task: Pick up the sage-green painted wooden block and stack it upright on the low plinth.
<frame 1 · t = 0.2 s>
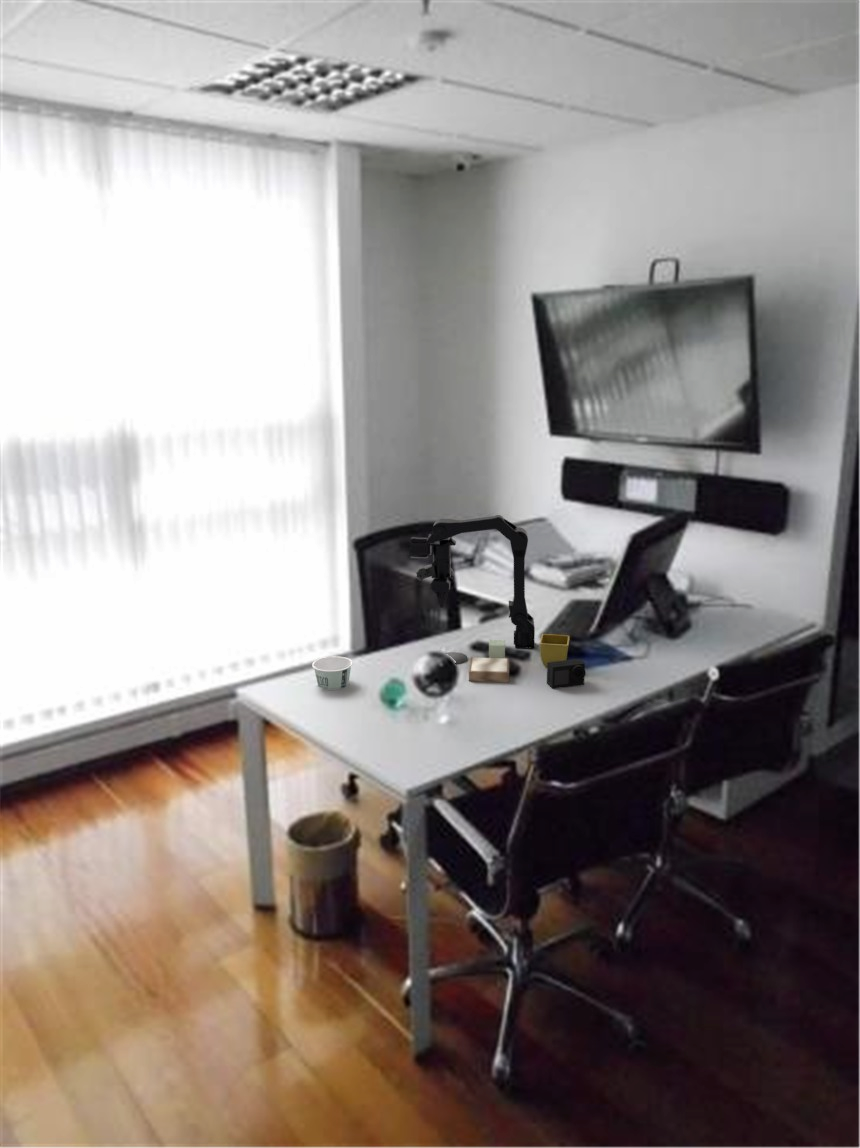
hand: (442, 603, 293), 14 cm above the table, fingers open, 9 cm apart
food container: (333, 684, 265), on the table
plinth: (489, 674, 270), on the table
coaster: (453, 658, 283), on the table
digital camera: (566, 685, 262), on the table
block: (496, 660, 282), on the table
flower pot: (554, 666, 276), on the table
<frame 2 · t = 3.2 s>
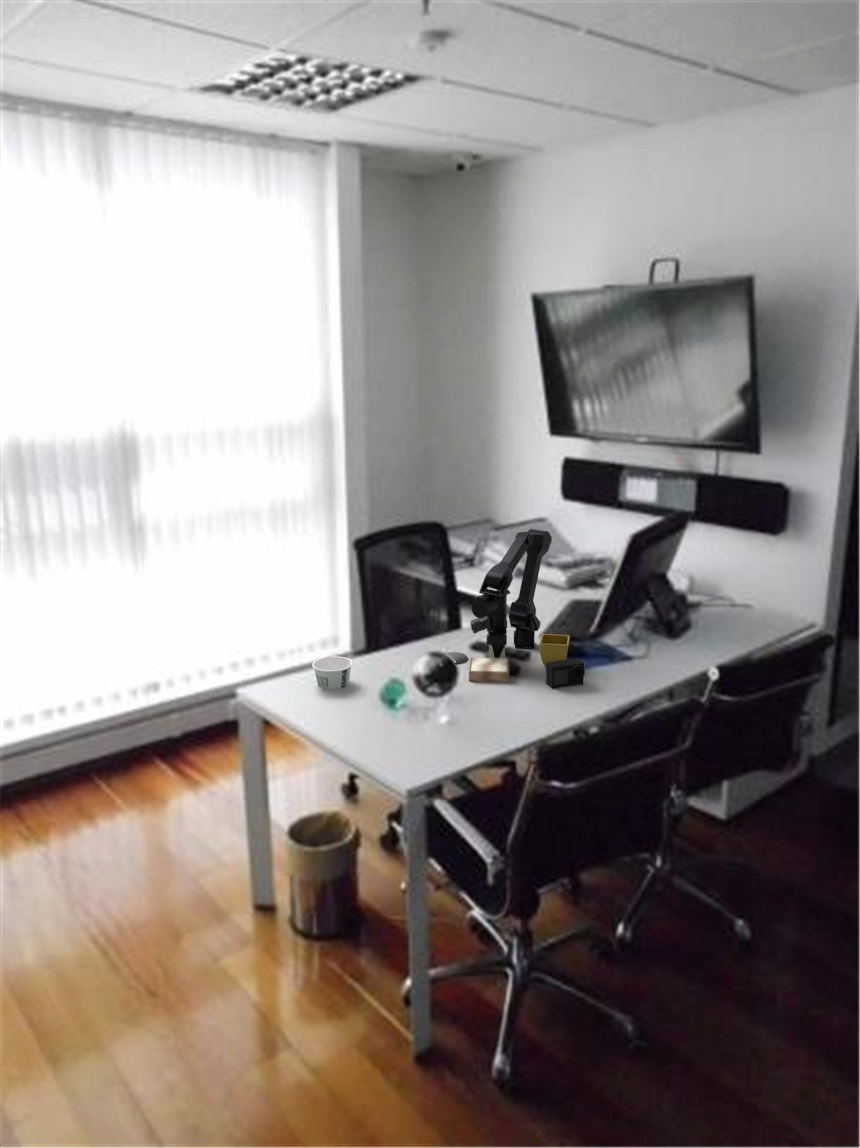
hand: (496, 656, 281), 1 cm above the table, fingers closed on block, 5 cm apart
block: (496, 660, 282), on the table, touching gripper
everything else where it was.
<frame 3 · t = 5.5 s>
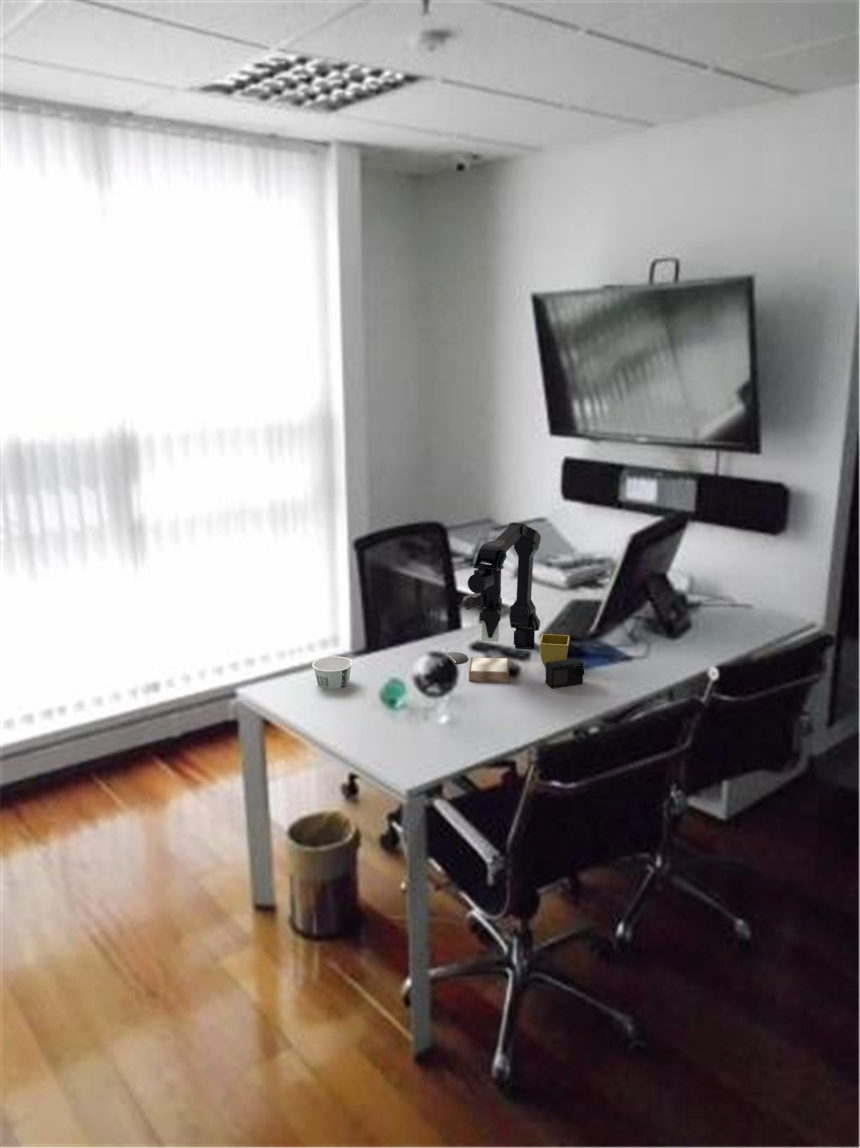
hand: (490, 634, 269), 12 cm above the table, fingers closed on block, 5 cm apart
block: (490, 638, 270), point 11 cm above the table, touching gripper
everything else where it was.
when the fingers open (5 cm above the table, at t = 7.6 s): block stays where it is, resting on plinth.
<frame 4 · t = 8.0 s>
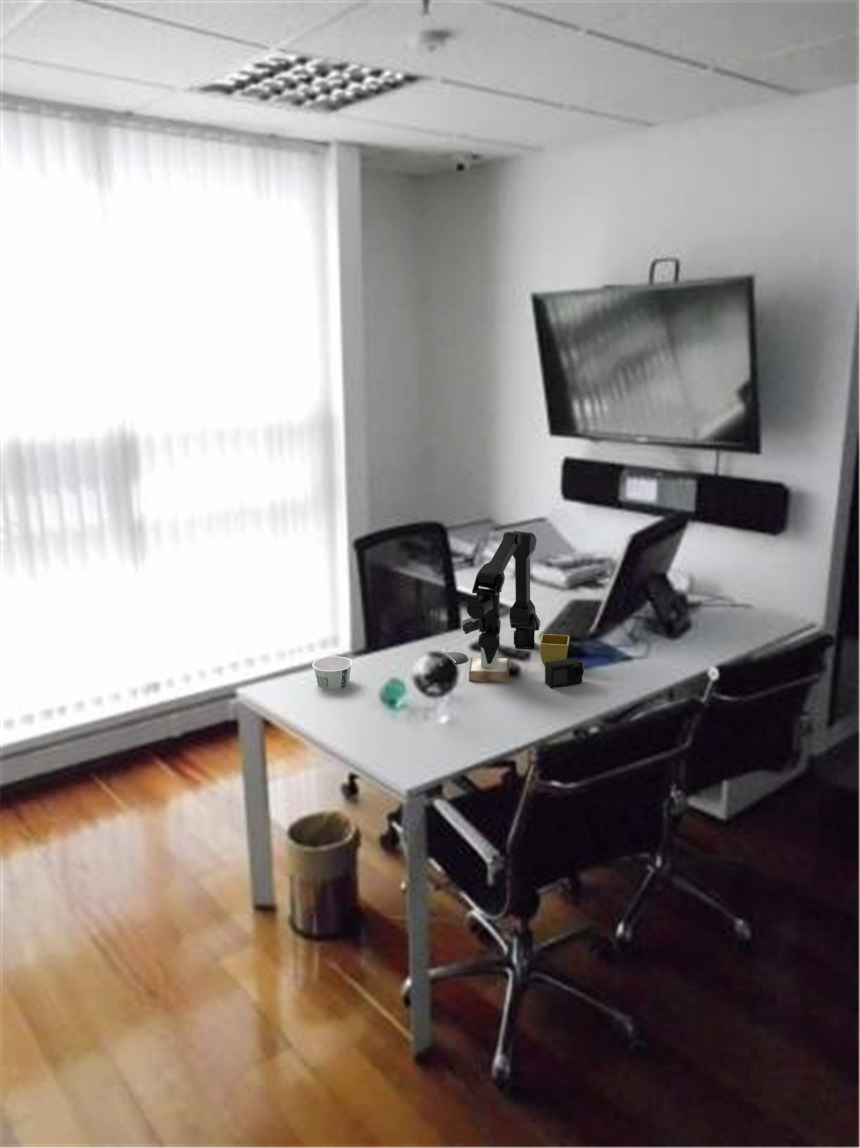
hand: (489, 658, 269), 5 cm above the table, fingers open, 9 cm apart
block: (489, 664, 270), point 3 cm above the table, touching plinth
everything else where it was.
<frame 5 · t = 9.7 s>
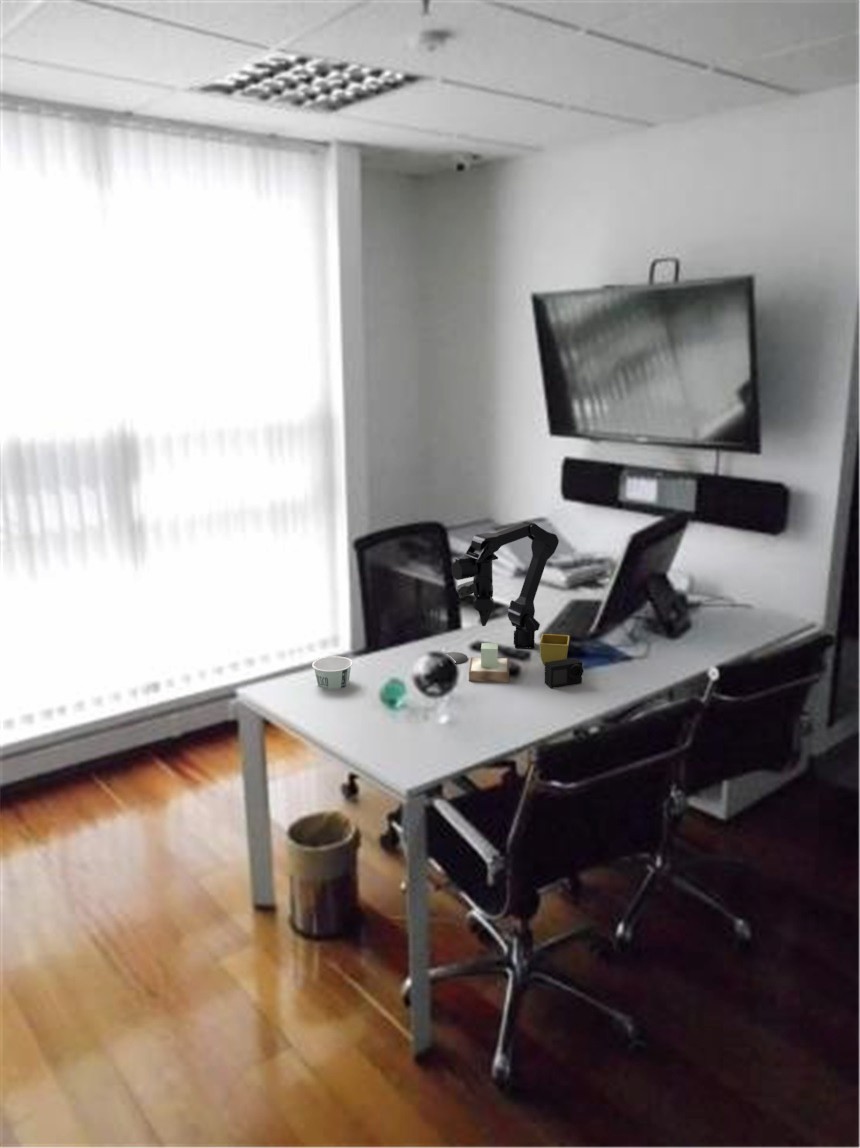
hand: (483, 621, 282), 12 cm above the table, fingers open, 9 cm apart
nothing on the table moved.
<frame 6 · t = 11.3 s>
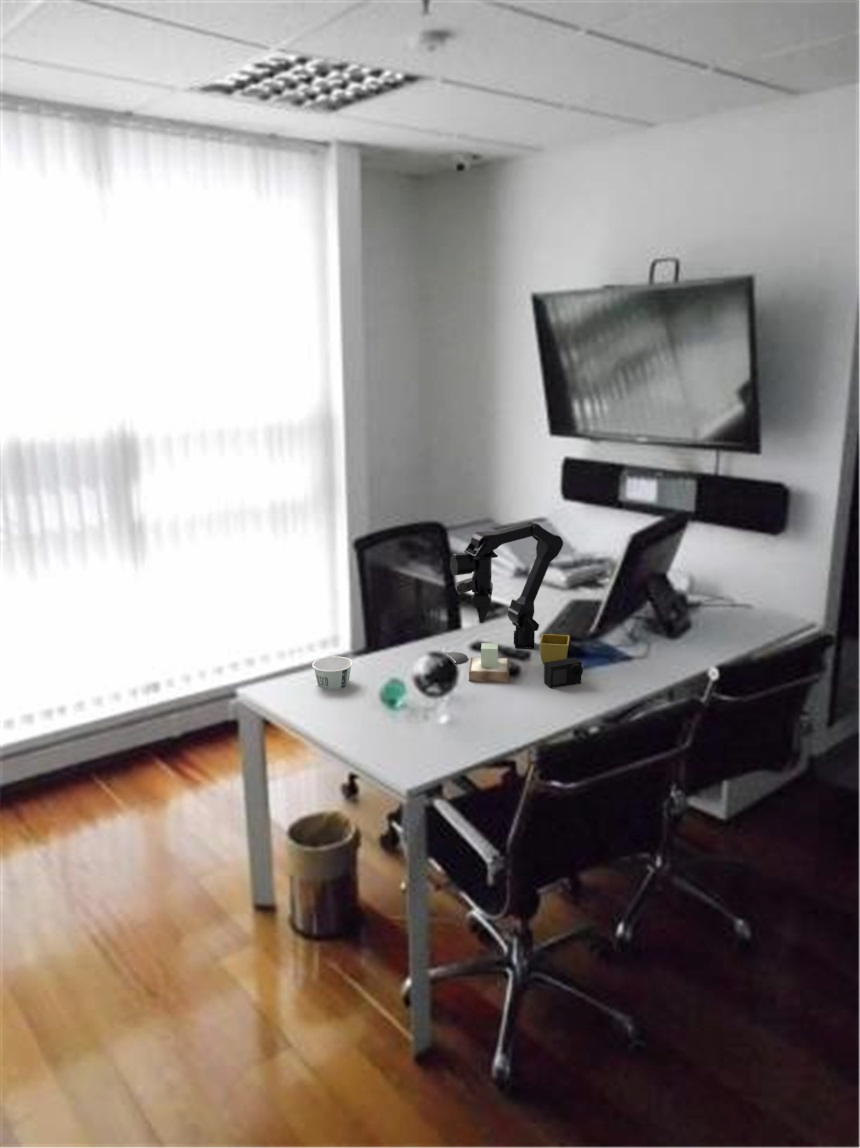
hand: (482, 618, 285), 12 cm above the table, fingers open, 9 cm apart
nothing on the table moved.
at the end: block inside the target area on the plinth (0.0 cm from its centre), point 3.1 cm above the plinth's base; block tilted 0°; the gripper is holding nothing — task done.
